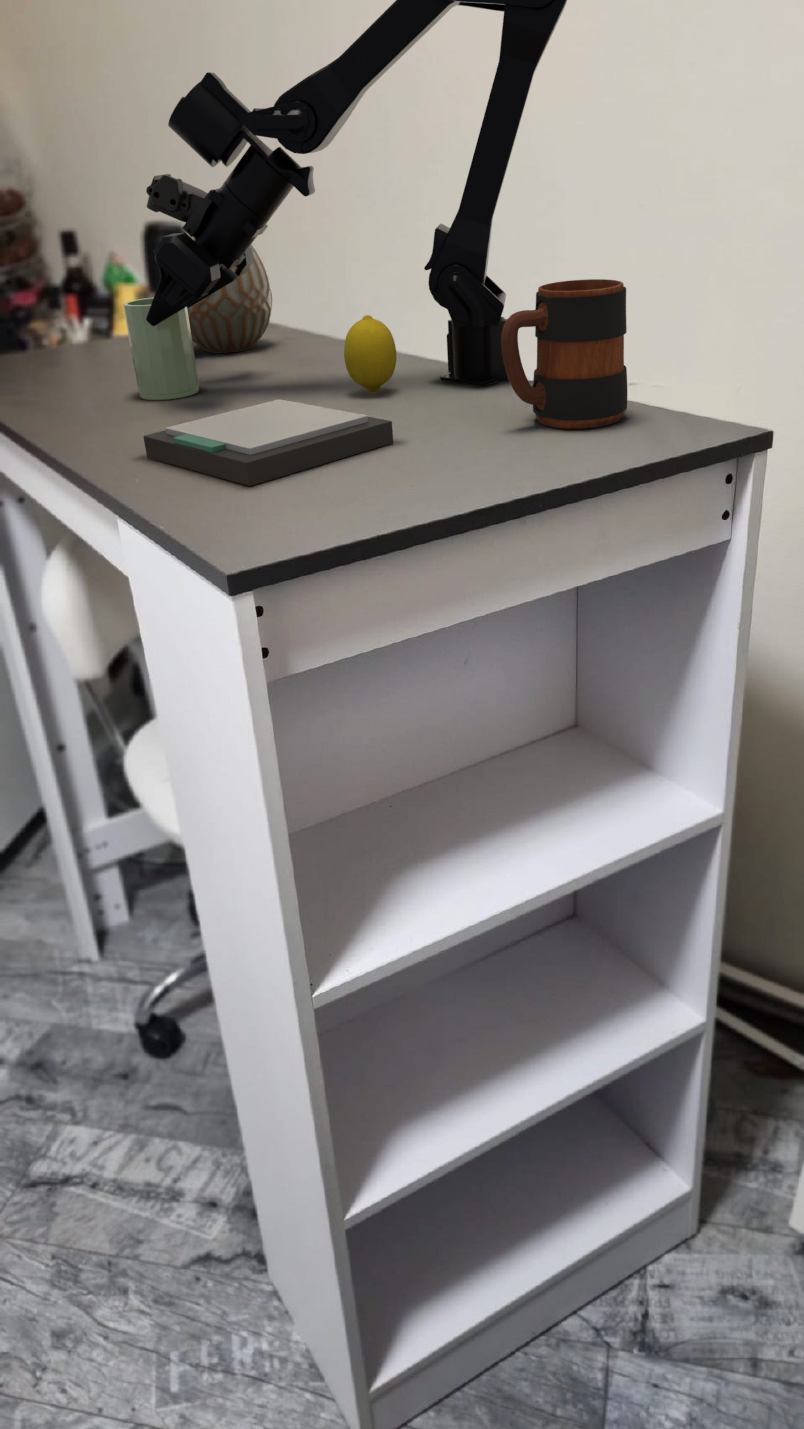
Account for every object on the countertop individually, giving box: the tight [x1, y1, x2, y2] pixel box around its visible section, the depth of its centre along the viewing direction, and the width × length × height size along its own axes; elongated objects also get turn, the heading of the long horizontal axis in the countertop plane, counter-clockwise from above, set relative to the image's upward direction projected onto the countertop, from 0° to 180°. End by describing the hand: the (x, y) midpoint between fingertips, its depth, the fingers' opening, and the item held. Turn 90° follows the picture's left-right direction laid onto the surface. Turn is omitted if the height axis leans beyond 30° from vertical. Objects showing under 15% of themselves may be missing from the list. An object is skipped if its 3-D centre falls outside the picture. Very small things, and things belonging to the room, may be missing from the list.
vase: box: [186, 233, 273, 354], centre depth 145 cm, size 13×13×18 cm
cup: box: [122, 297, 200, 401], centre depth 123 cm, size 7×7×10 cm
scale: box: [142, 398, 394, 487], centre depth 99 cm, size 16×16×3 cm
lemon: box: [343, 314, 397, 394], centre depth 116 cm, size 6×6×8 cm
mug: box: [501, 278, 628, 430], centre depth 99 cm, size 9×12×12 cm
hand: (163, 316), depth 121 cm, fingers open, 9 cm apart
